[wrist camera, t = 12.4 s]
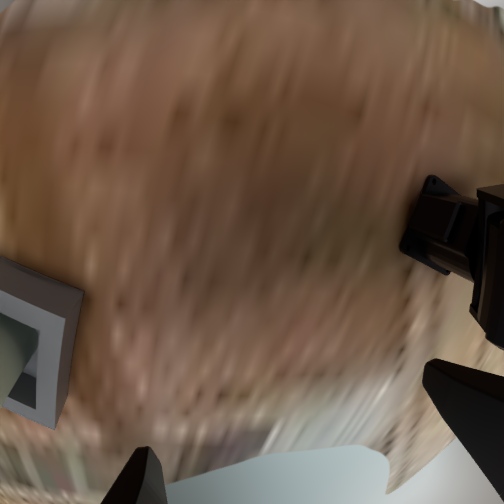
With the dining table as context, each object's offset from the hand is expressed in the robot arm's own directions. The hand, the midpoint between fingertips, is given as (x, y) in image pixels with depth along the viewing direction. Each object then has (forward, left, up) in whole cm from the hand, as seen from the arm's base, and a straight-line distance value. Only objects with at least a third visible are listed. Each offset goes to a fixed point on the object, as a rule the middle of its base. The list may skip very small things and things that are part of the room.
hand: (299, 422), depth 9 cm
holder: (+14, +9, -13) cm, 21 cm away
